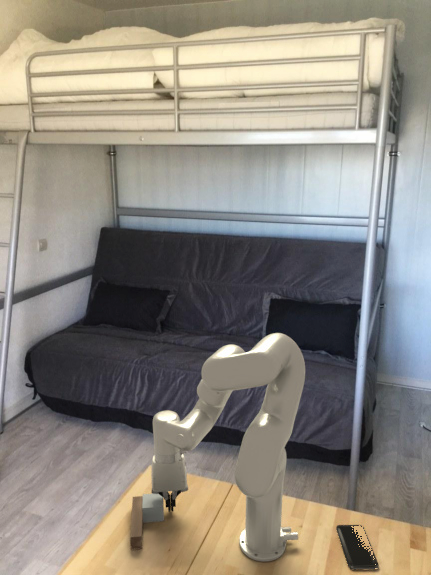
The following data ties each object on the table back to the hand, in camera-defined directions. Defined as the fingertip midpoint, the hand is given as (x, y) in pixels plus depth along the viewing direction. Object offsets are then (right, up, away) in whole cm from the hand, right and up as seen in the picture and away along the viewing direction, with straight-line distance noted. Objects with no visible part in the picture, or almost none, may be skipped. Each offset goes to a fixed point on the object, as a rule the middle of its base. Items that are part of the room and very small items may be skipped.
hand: (170, 508), depth 146 cm
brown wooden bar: (-9, -3, -5) cm, 11 cm away
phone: (+51, -6, -12) cm, 53 cm away
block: (-5, -2, 0) cm, 5 cm away
